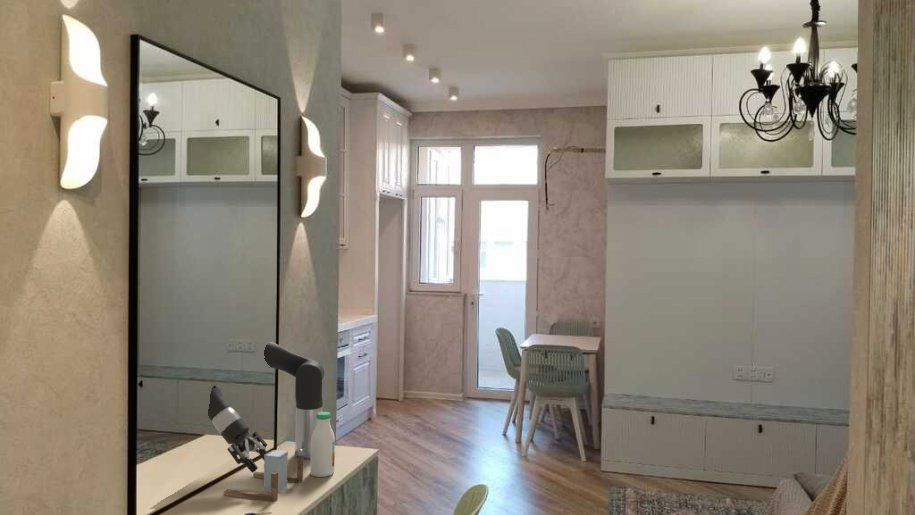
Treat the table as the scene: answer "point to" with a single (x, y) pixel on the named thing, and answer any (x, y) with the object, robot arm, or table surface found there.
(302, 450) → the metal cylinder with tab
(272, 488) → the bay
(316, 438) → the milk bottle
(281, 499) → the table surface
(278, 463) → the lidded storage bin
